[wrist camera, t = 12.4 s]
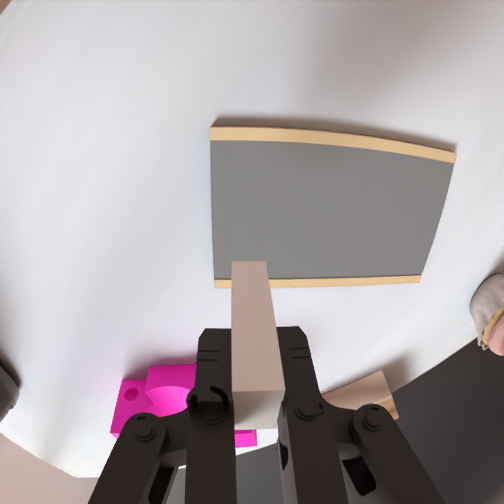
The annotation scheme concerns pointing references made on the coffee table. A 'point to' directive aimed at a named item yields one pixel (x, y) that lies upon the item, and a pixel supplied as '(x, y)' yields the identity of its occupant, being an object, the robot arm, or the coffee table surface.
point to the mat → (324, 205)
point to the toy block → (163, 398)
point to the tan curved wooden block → (364, 394)
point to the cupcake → (490, 313)
